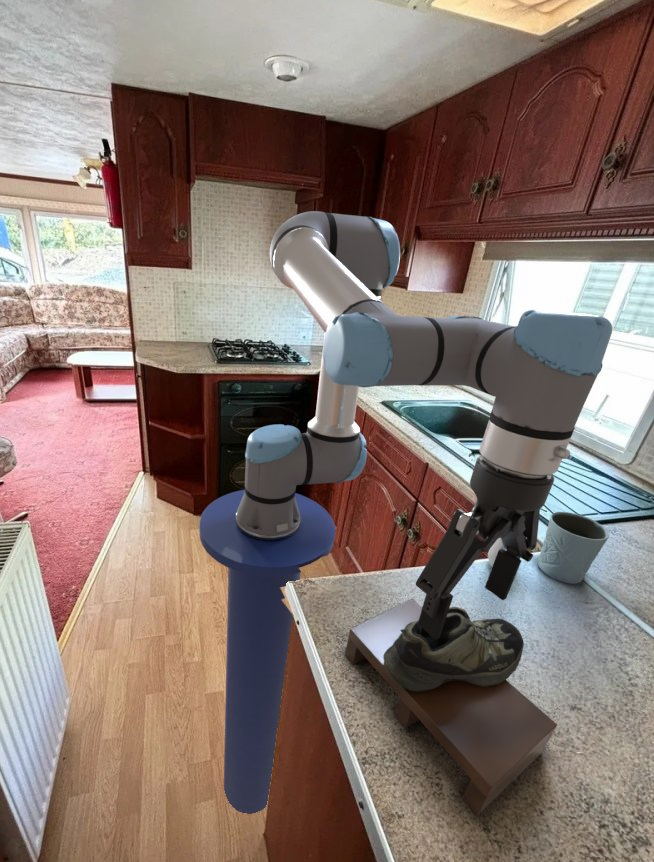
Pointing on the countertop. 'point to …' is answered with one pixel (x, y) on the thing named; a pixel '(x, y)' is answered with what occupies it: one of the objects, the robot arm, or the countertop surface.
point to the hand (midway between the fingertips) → (463, 610)
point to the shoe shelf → (461, 713)
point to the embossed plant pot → (571, 546)
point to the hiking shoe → (455, 653)
